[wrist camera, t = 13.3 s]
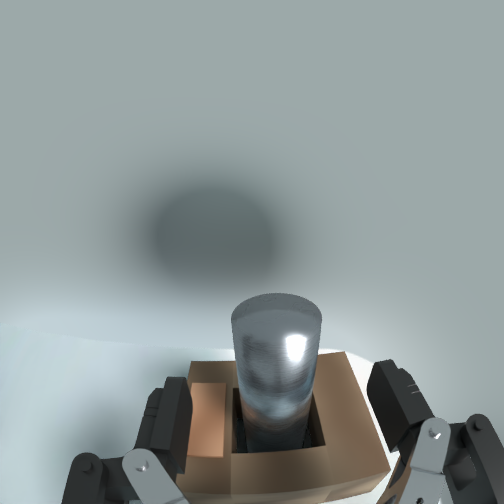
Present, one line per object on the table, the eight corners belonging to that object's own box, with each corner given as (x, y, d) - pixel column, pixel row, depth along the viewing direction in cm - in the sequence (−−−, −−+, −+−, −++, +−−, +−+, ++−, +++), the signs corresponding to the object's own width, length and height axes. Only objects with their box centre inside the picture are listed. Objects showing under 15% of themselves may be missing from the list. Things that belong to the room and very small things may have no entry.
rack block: (185, 507, 12) (167, 489, 10) (199, 393, 22) (190, 359, 20) (371, 491, 12) (392, 468, 10) (337, 383, 22) (344, 349, 20)
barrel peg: (247, 469, 15) (229, 348, 10) (246, 426, 19) (232, 295, 14) (305, 464, 15) (332, 340, 10) (298, 422, 19) (311, 290, 14)
